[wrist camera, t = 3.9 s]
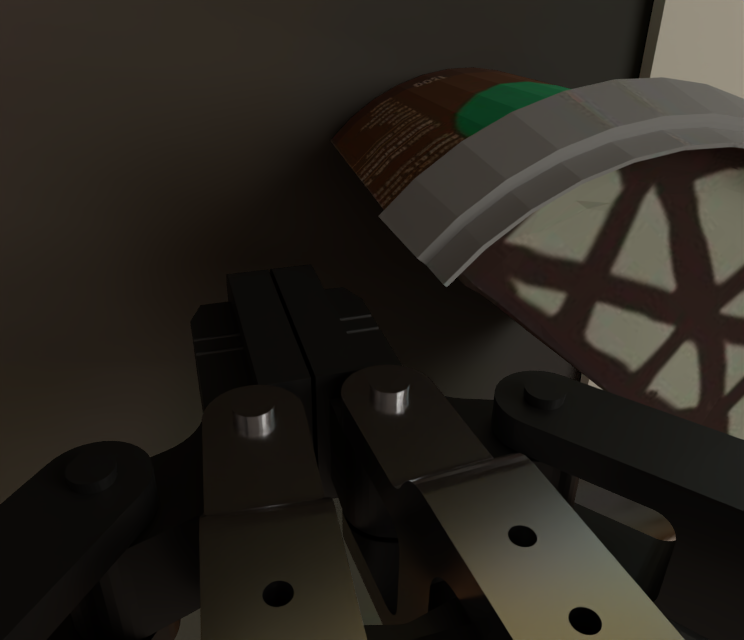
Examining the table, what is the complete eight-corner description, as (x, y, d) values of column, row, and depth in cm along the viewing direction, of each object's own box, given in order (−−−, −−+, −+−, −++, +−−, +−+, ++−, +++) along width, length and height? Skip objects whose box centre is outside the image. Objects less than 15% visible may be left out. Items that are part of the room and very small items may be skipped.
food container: (683, 190, 24) (981, 341, 16) (556, 325, 25) (768, 531, 17) (443, -95, 17) (733, -95, 9) (288, 106, 19) (419, 267, 10)
